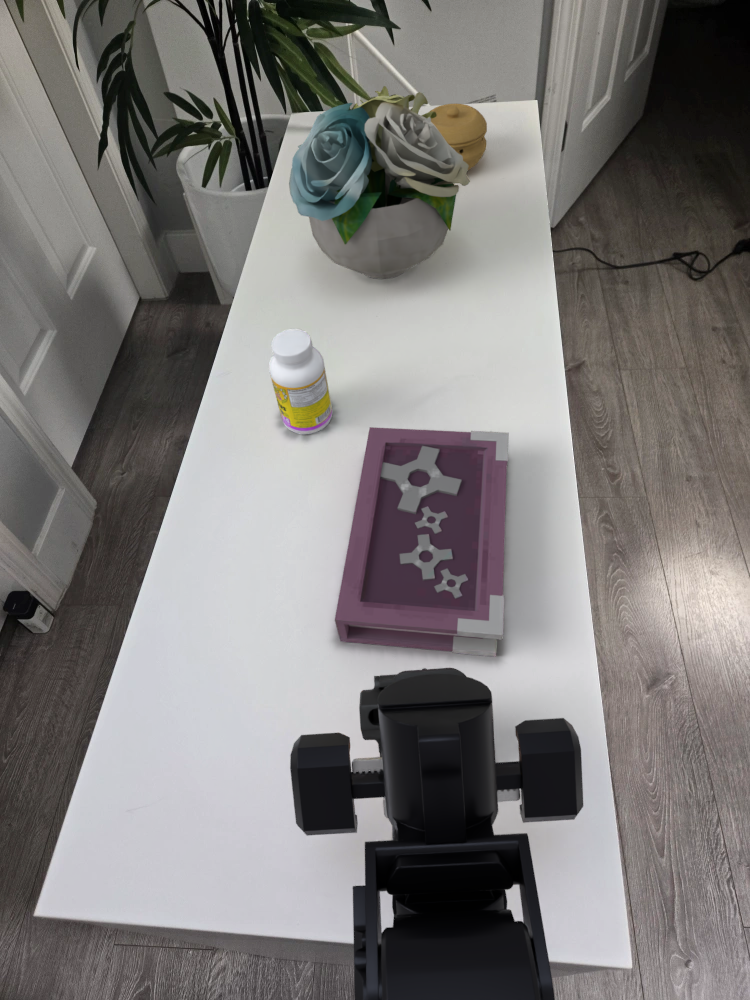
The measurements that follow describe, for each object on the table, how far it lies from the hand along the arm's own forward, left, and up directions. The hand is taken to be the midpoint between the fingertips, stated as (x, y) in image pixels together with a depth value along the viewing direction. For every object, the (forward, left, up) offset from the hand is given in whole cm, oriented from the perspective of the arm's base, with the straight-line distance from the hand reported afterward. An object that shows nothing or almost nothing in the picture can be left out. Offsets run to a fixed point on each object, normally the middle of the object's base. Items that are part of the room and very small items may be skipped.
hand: (429, 720), depth 55 cm
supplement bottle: (+44, -13, -12) cm, 48 cm away
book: (+19, -14, -12) cm, 27 cm away
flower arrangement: (+65, -39, -12) cm, 77 cm away
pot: (+81, -64, -12) cm, 104 cm away
